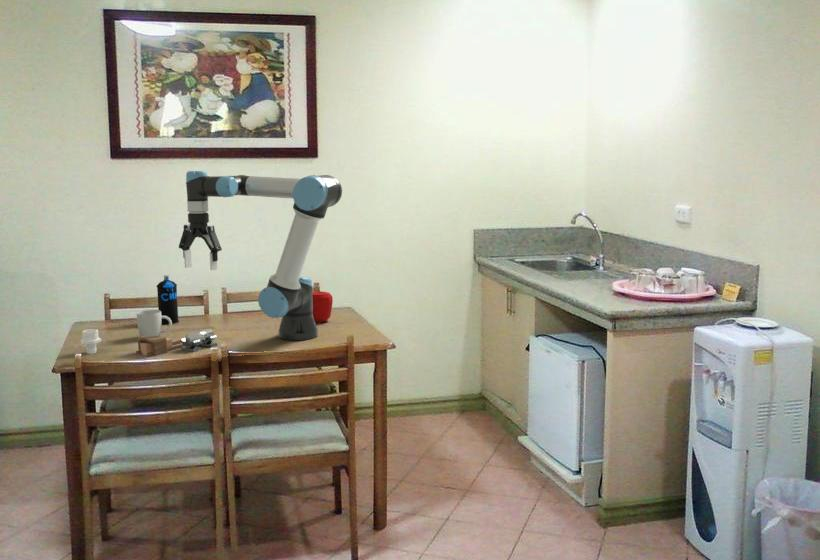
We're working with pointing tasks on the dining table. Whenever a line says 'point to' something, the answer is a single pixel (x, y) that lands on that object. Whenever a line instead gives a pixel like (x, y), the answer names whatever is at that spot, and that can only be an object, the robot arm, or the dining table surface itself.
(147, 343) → the brown wooden block
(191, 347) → the v block
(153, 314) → the mug
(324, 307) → the red bell pepper
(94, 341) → the pipe fitting
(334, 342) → the dining table surface
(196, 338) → the grey elongated lump
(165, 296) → the aerosol can
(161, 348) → the beam
